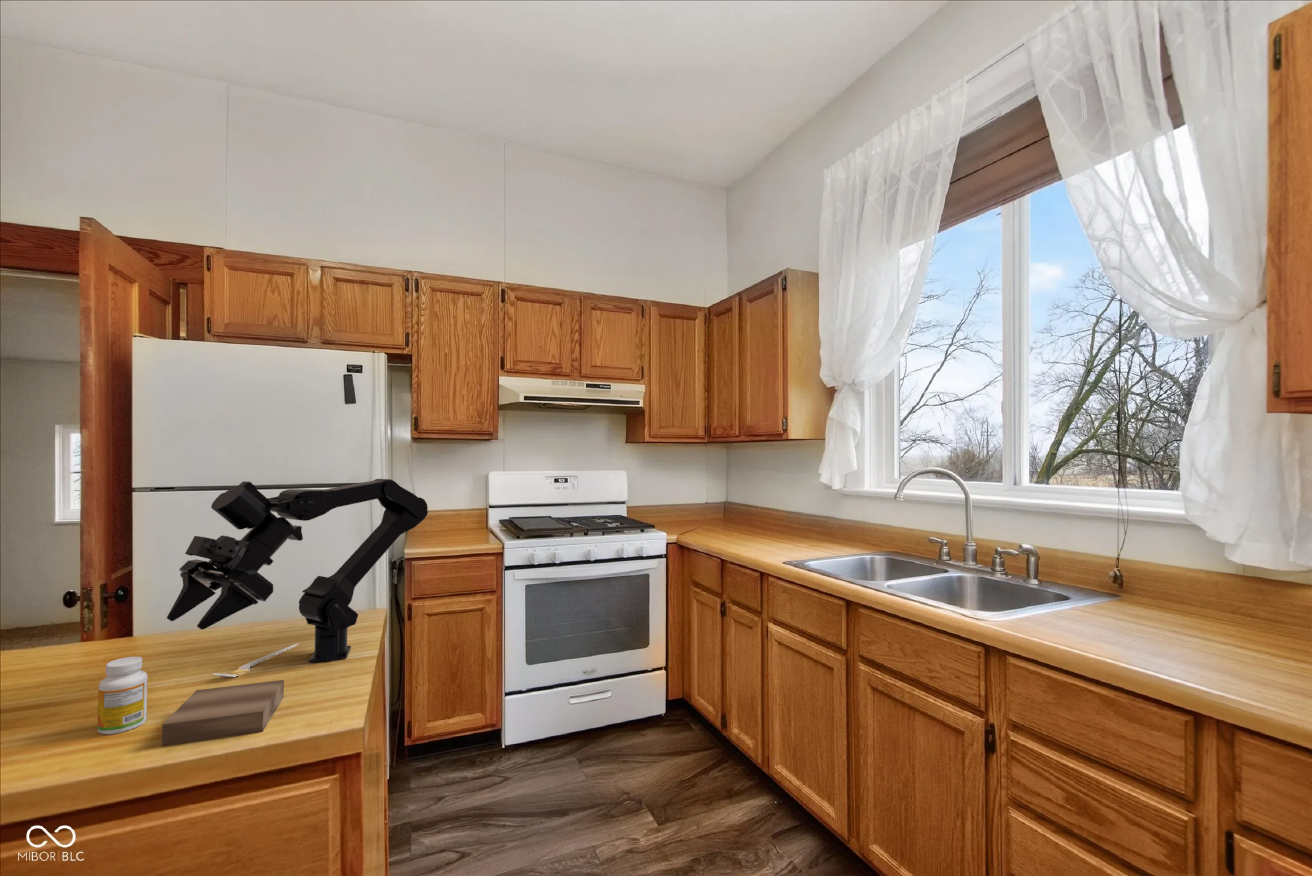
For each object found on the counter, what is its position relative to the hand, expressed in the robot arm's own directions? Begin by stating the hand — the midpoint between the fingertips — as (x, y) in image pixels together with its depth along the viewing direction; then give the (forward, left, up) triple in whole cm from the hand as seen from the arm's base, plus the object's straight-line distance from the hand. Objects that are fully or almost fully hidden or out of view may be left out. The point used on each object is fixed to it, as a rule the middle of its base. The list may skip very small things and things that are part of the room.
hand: (184, 623), depth 92 cm
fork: (-18, +6, -14) cm, 24 cm away
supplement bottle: (+5, -5, -13) cm, 15 cm away
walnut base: (+8, +9, -13) cm, 18 cm away
